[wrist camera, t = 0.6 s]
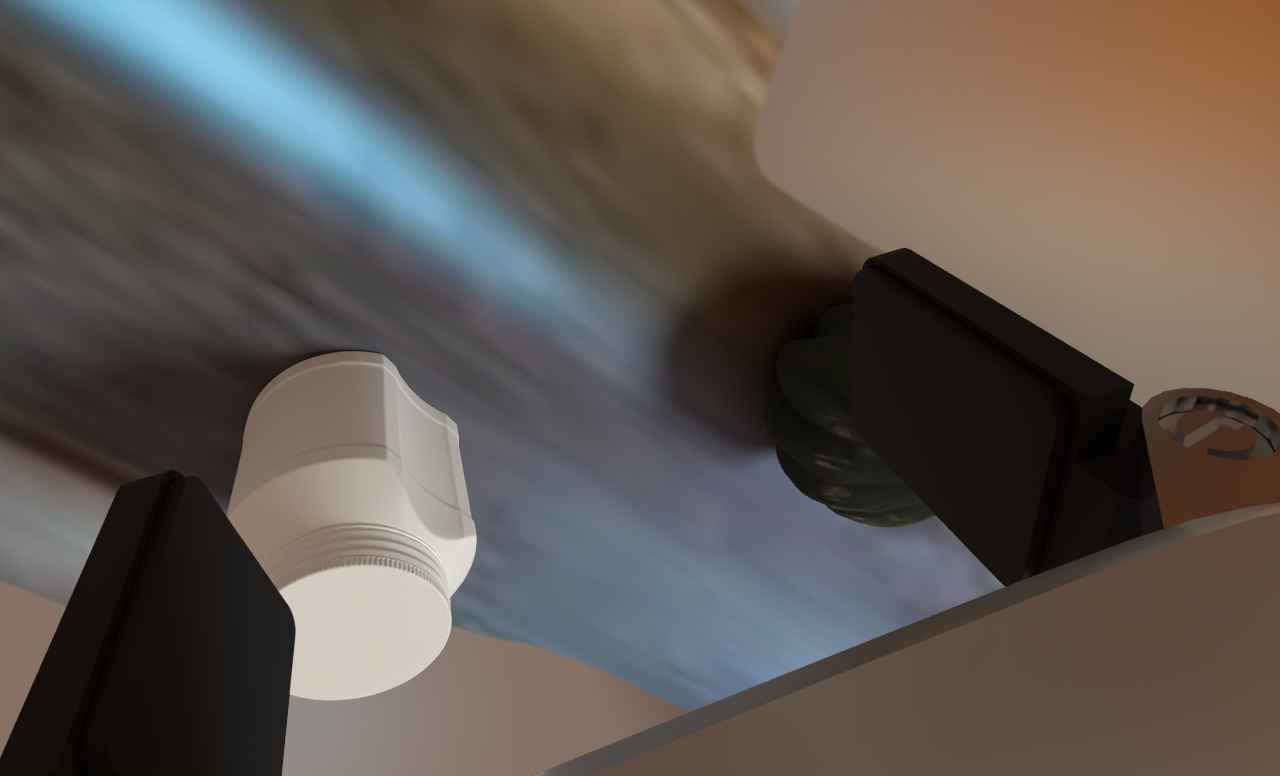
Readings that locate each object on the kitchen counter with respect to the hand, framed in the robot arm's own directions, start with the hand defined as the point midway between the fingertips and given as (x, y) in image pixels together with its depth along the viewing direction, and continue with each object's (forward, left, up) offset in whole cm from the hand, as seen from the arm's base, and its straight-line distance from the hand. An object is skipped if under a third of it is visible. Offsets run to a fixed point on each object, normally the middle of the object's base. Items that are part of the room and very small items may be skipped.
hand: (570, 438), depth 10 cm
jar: (+20, +6, -30) cm, 36 cm away
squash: (+1, +32, -30) cm, 44 cm away
